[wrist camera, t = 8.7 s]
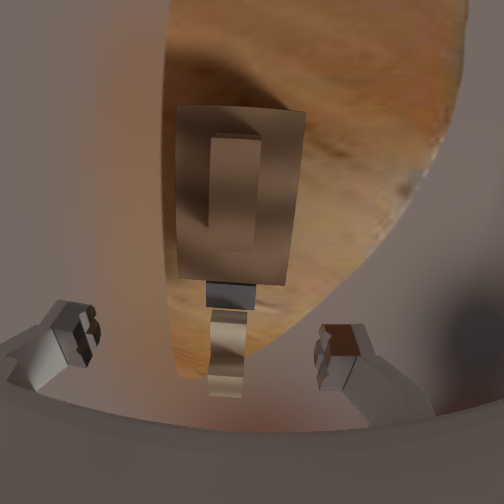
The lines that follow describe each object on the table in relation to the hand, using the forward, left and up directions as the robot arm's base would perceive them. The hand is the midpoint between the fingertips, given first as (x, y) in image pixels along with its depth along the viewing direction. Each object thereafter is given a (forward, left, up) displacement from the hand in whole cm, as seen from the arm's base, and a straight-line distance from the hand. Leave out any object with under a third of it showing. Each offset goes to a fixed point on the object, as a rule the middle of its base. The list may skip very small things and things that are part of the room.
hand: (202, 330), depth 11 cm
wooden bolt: (+16, +8, -18) cm, 25 cm away
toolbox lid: (+1, +1, -19) cm, 19 cm away
